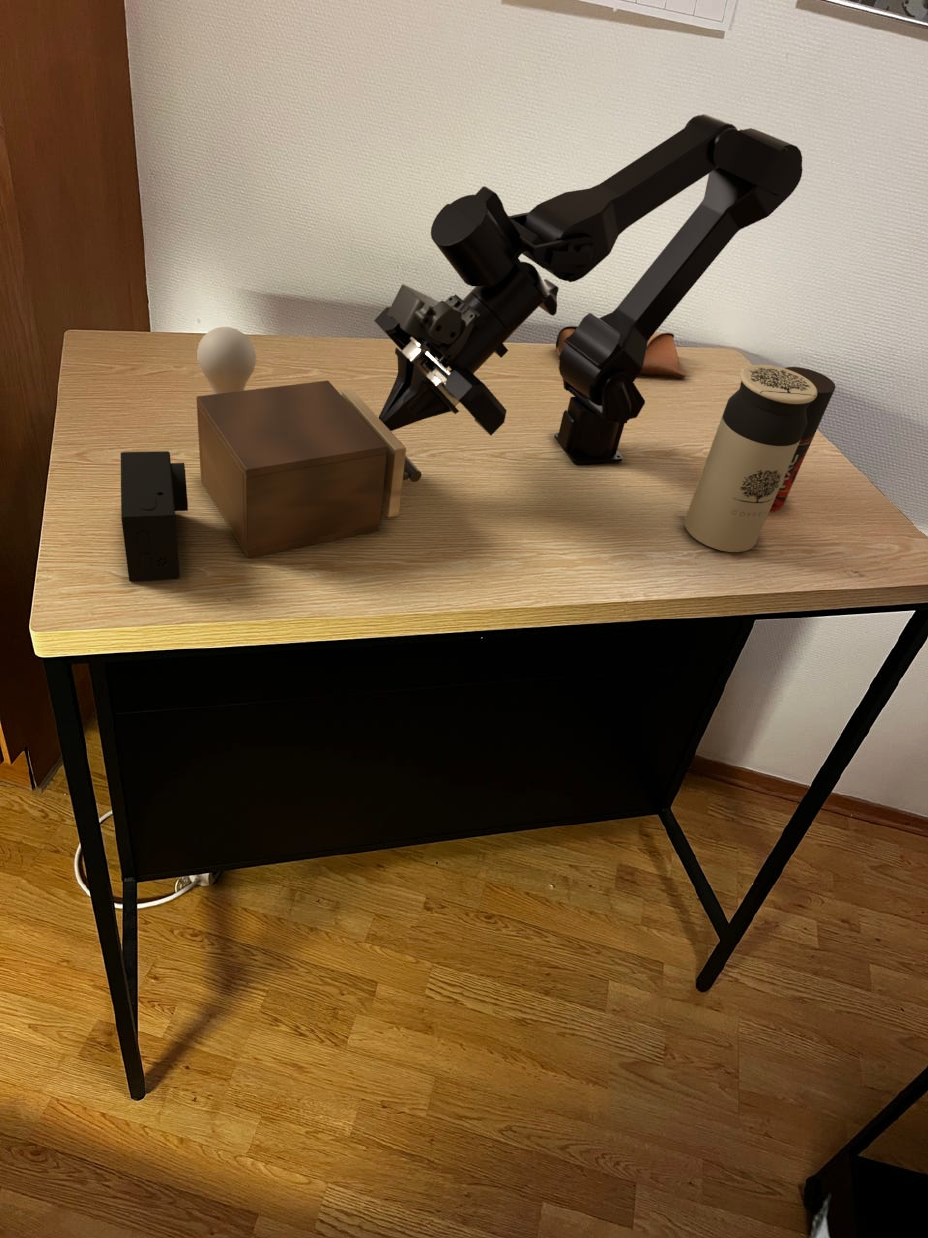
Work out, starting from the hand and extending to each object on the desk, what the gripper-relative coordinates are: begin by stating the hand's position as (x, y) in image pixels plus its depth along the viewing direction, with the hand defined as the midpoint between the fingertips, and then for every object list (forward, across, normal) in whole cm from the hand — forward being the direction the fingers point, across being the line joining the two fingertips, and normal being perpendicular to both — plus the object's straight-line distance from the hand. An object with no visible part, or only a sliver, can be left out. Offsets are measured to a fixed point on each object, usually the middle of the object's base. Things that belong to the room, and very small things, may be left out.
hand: (379, 429), depth 90 cm
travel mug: (-18, +19, +28) cm, 39 cm away
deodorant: (-25, +15, +35) cm, 46 cm away
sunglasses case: (-29, -19, +39) cm, 52 cm away
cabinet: (+12, 0, -2) cm, 12 cm away
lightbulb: (+12, -17, -2) cm, 21 cm away
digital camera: (+22, +2, -11) cm, 24 cm away
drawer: (+8, 0, +1) cm, 8 cm away
